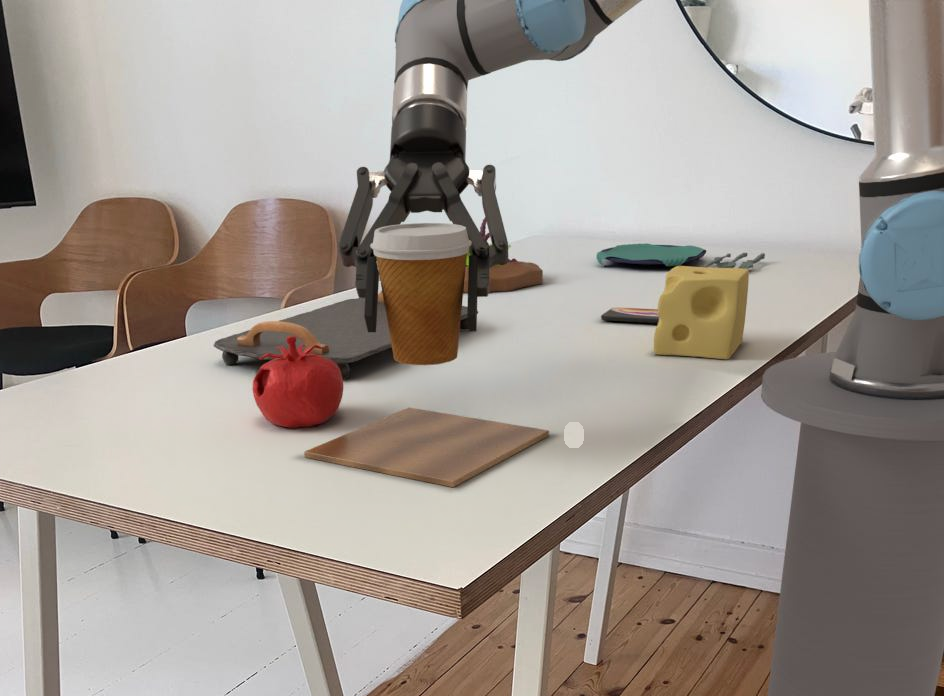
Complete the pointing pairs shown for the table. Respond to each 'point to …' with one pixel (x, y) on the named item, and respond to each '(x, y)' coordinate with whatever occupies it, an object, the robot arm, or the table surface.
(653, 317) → the smartphone
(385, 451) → the wooden board
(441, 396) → the table surface
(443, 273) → the disposable coffee cup
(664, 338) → the cheese
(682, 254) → the cutlery set
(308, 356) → the pomegranate
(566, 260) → the table surface
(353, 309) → the serving tray
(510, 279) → the plant
